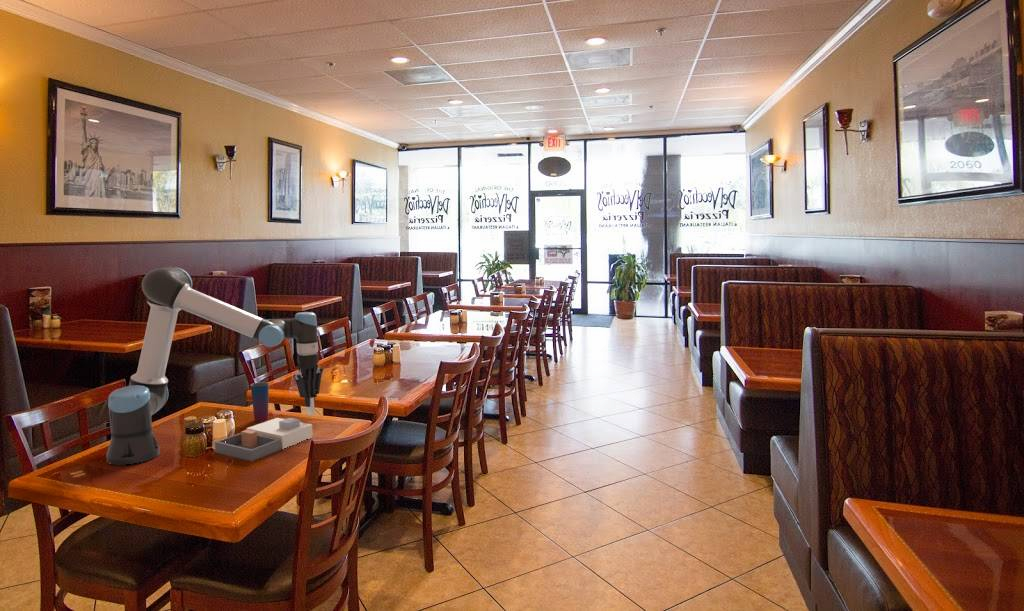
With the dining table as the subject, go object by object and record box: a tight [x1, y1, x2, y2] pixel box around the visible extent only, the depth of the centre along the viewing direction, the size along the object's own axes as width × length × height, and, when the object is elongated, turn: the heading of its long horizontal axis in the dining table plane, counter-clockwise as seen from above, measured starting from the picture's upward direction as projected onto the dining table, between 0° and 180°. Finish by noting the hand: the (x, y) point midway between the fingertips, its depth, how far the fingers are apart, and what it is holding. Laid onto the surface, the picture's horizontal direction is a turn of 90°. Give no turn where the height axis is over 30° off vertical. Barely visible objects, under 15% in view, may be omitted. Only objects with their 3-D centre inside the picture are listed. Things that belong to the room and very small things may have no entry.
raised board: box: [246, 417, 314, 450], centre depth 216 cm, size 18×14×5 cm
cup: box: [250, 381, 270, 422], centre depth 238 cm, size 7×7×15 cm
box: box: [214, 432, 282, 463], centre depth 203 cm, size 18×12×4 cm, turn 64°
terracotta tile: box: [240, 429, 257, 447], centre depth 208 cm, size 5×5×2 cm
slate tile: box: [279, 417, 301, 430], centre depth 214 cm, size 5×5×2 cm
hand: (310, 414), depth 223 cm, fingers closed
